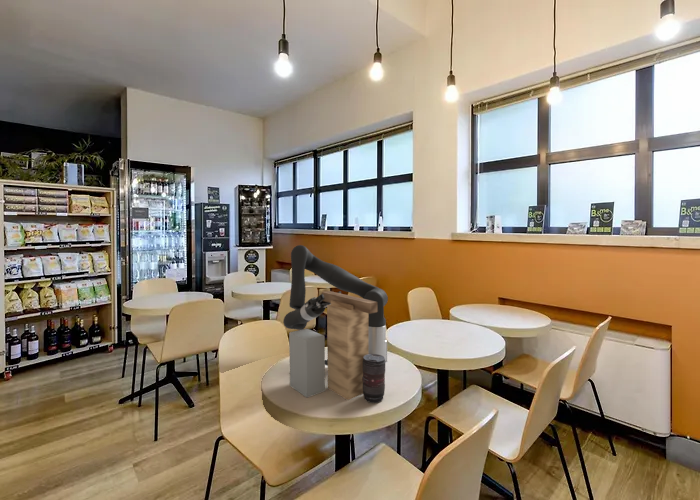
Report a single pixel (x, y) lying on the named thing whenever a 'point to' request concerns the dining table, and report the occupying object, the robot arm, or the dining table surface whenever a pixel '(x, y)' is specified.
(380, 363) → the camera lens
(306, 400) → the dining table surface
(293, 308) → the robot arm
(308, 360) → the grey block
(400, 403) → the dining table surface
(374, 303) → the walnut bar
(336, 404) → the dining table surface
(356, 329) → the oak stand
